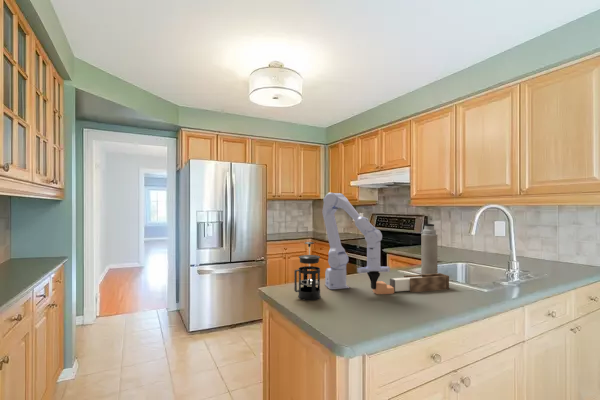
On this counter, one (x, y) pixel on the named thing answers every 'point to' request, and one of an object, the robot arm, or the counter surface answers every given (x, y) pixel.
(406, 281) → the sliding door
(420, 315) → the counter surface
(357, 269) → the robot arm
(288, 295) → the counter surface
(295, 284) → the french press
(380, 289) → the peach two-level step
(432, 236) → the thermos bottle
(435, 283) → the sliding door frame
